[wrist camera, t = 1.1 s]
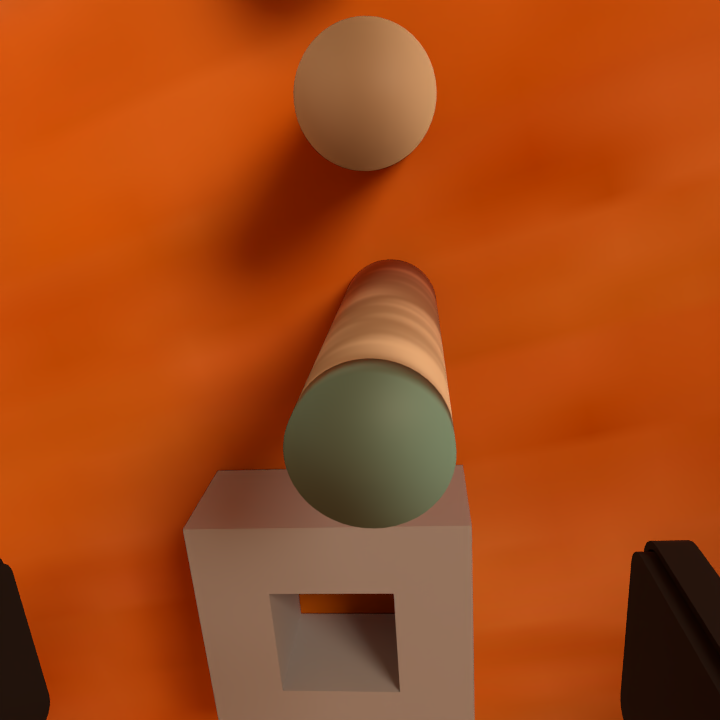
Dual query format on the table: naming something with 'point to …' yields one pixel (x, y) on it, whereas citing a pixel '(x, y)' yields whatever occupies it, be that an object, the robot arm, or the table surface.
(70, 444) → the table surface
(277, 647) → the socket block
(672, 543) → the robot arm
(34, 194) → the table surface
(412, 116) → the medium dowel
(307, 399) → the long dowel
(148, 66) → the table surface
